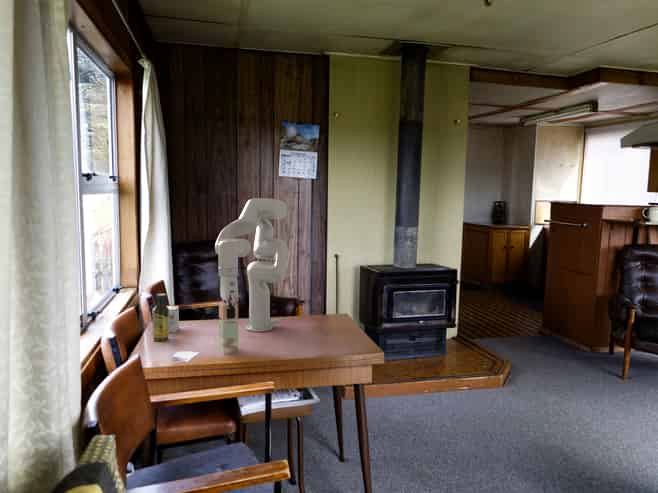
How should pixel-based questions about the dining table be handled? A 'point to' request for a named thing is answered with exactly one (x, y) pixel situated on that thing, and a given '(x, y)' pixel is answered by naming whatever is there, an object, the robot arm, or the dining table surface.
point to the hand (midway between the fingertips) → (228, 315)
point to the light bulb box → (170, 318)
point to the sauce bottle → (161, 319)
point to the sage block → (228, 329)
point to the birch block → (228, 345)
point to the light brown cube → (223, 311)
